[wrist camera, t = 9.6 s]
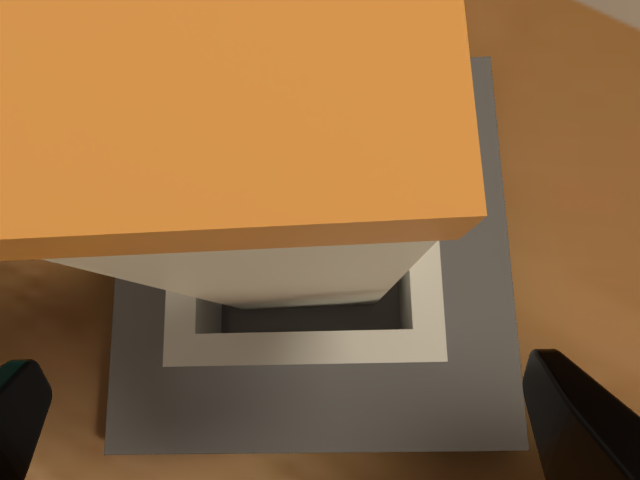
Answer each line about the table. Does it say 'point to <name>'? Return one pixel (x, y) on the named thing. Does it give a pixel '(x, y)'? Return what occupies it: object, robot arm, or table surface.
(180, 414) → the socket
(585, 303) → the table surface
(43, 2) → the plug
